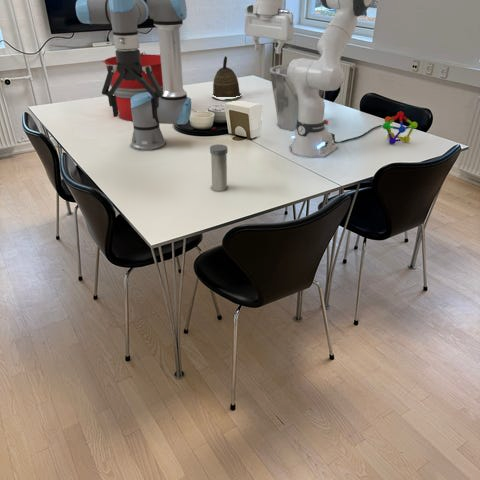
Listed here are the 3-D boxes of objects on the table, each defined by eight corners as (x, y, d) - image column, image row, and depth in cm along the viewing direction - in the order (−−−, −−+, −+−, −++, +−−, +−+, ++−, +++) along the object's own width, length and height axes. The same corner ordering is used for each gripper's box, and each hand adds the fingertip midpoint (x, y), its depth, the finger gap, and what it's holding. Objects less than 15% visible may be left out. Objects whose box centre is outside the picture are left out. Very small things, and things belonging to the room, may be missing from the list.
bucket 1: (119, 105, 264) (111, 51, 248) (177, 106, 263) (173, 52, 247) (101, 123, 234) (92, 63, 218) (167, 124, 233) (162, 63, 218)
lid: (219, 156, 156) (219, 151, 155) (206, 152, 160) (206, 147, 159) (231, 151, 160) (231, 147, 159) (218, 147, 164) (217, 143, 163)
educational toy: (377, 146, 209) (379, 114, 202) (384, 138, 219) (386, 107, 211) (411, 149, 202) (415, 116, 195) (417, 141, 212) (420, 109, 204)
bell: (227, 105, 294) (202, 96, 282) (238, 66, 289) (213, 55, 277) (243, 108, 280) (217, 98, 268) (255, 66, 275) (229, 55, 263)
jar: (220, 192, 164) (219, 152, 156) (209, 188, 167) (207, 149, 159) (229, 187, 168) (229, 148, 160) (218, 183, 171) (218, 144, 163)
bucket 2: (296, 138, 215) (301, 78, 201) (255, 124, 234) (256, 68, 219) (335, 125, 232) (342, 70, 217) (294, 113, 251) (297, 61, 236)
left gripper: (84, 50, 136) (95, 118, 148) (163, 52, 134) (168, 121, 145) (93, 46, 143) (104, 112, 154) (169, 48, 140) (174, 114, 152)
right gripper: (299, 9, 146) (296, 54, 153) (254, 5, 158) (253, 47, 165) (287, 10, 142) (284, 56, 149) (241, 6, 154) (241, 49, 161)
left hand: (135, 116), depth 150 cm, fingers open, 13 cm apart
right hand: (267, 51), depth 157 cm, fingers open, 8 cm apart
